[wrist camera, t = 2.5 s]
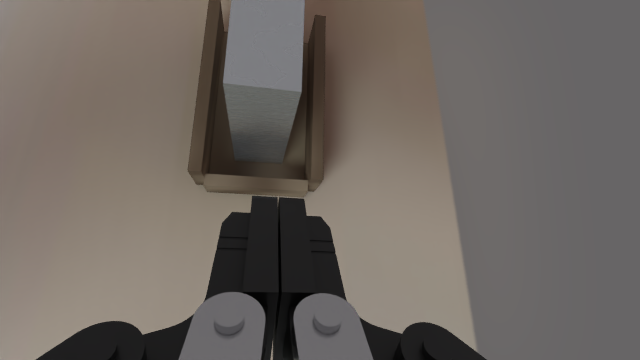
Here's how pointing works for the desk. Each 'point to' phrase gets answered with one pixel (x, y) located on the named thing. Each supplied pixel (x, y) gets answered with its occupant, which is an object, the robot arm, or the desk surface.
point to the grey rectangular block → (263, 76)
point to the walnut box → (214, 130)
